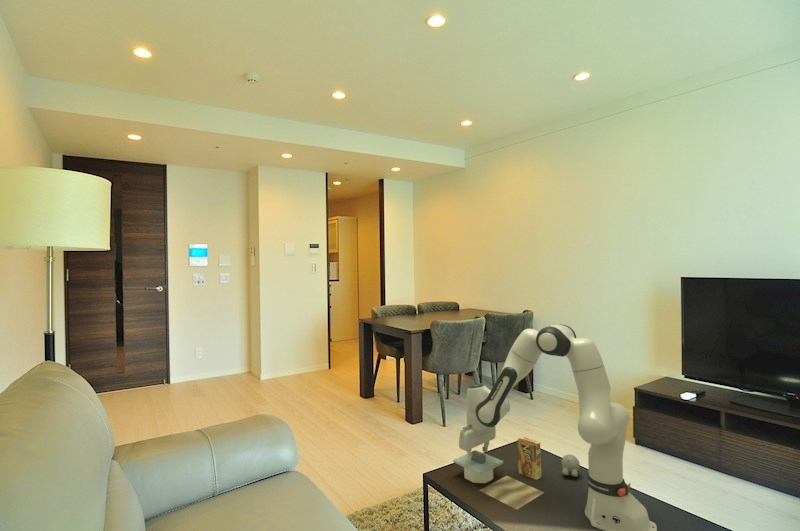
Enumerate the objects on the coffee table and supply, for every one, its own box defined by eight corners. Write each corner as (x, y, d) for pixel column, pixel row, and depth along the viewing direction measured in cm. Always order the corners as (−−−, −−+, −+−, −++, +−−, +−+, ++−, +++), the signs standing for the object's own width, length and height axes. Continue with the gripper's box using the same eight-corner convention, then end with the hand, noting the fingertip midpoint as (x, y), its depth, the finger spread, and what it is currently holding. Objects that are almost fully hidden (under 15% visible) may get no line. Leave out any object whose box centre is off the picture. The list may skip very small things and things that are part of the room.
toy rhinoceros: (580, 477, 184) (581, 456, 187) (578, 478, 174) (579, 456, 177) (563, 473, 187) (564, 453, 190) (560, 474, 178) (560, 452, 180)
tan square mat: (544, 493, 167) (544, 492, 167) (516, 511, 155) (516, 509, 155) (506, 476, 181) (506, 475, 181) (479, 491, 169) (479, 490, 169)
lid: (503, 463, 180) (503, 454, 180) (480, 474, 171) (479, 465, 171) (476, 452, 192) (476, 443, 192) (453, 462, 182) (453, 452, 182)
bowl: (498, 477, 180) (498, 463, 180) (480, 487, 173) (479, 472, 173) (476, 467, 190) (476, 454, 190) (458, 476, 182) (458, 462, 182)
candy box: (541, 477, 179) (540, 441, 179) (536, 481, 176) (536, 444, 176) (523, 470, 186) (522, 435, 186) (517, 474, 183) (517, 438, 183)
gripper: (466, 430, 172) (467, 464, 172) (497, 418, 185) (498, 450, 185) (455, 426, 177) (455, 459, 177) (486, 414, 190) (487, 445, 190)
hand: (478, 454), depth 181 cm, fingers open, 8 cm apart
